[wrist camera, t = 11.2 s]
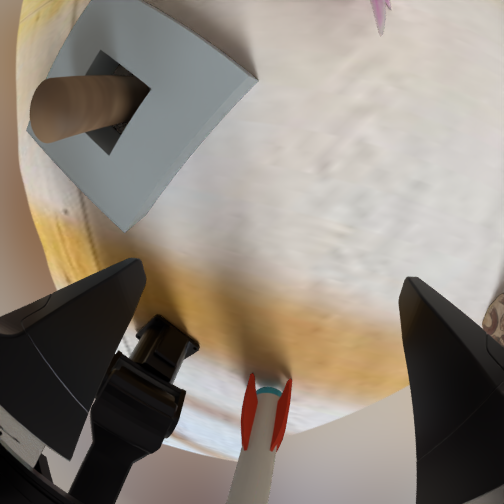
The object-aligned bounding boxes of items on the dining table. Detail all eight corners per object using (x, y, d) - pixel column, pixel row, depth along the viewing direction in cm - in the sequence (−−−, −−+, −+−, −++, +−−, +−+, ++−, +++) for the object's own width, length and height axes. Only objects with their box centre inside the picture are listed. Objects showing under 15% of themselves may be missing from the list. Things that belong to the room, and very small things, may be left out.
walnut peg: (132, 130, 20) (53, 156, 12) (104, 105, 19) (23, 122, 11) (158, 91, 18) (78, 97, 10) (127, 67, 17) (45, 67, 9)
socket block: (145, 215, 24) (124, 233, 21) (51, 123, 20) (26, 130, 17) (258, 80, 17) (249, 76, 14) (128, -8, 13) (103, -17, 10)
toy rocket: (289, 398, 34) (251, 598, 9) (249, 393, 35) (198, 589, 10) (294, 377, 32) (252, 609, 6) (249, 372, 32) (188, 597, 7)
